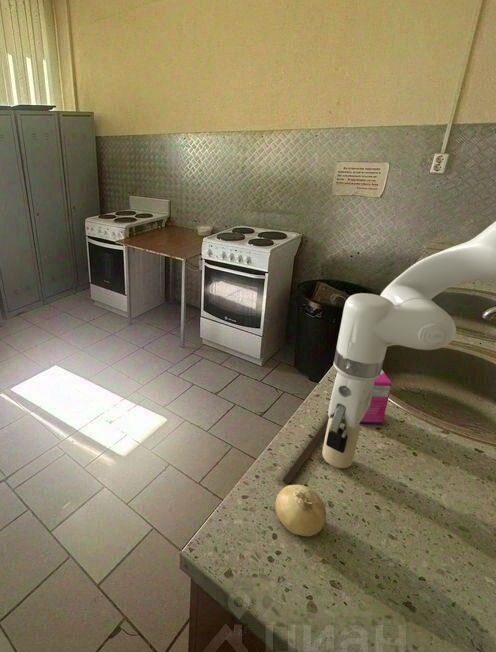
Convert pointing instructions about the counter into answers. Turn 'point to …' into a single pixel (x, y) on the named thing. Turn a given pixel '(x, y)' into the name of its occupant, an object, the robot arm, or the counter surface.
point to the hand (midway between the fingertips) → (341, 438)
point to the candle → (347, 457)
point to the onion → (300, 510)
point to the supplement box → (378, 400)
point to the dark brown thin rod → (305, 453)
